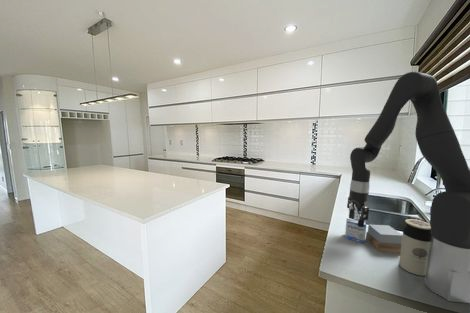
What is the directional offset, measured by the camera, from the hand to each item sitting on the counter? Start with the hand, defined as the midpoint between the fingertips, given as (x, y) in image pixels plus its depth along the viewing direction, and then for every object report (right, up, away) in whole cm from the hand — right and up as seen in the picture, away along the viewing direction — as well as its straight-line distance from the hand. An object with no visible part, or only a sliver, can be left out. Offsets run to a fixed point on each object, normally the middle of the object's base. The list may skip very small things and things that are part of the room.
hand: (355, 222), depth 93 cm
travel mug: (+9, -11, -20) cm, 25 cm away
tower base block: (+9, -9, -5) cm, 14 cm away
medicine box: (0, -8, +1) cm, 8 cm away
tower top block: (+9, -5, -6) cm, 12 cm away
